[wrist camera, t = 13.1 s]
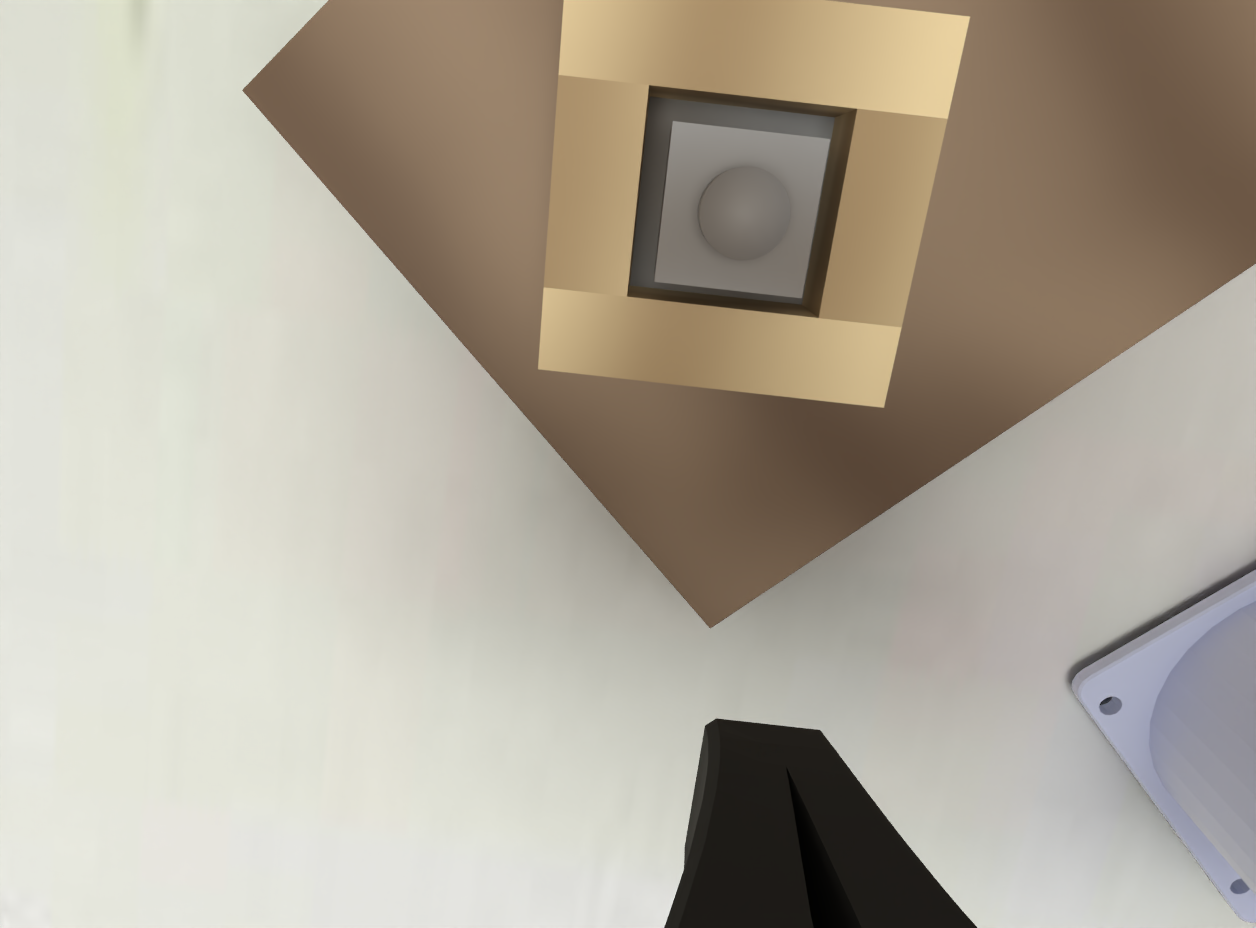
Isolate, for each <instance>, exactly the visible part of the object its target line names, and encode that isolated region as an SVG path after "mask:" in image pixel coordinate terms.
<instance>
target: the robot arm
mask: <svg viewBox="0 0 1256 928" xmlns="http://www.w3.org/2000/svg"><path fill="white" fill-rule="evenodd" d="M1072 690H1073V692H1074V694H1075V696H1076V697H1077V699H1078V700H1079V701H1080V703H1081V704H1082V705H1083V707H1084V708H1085V709H1086V711H1087V712H1088V714H1089V715H1090V716H1091V718H1092V719H1093V720H1094V722H1095V723H1096V724H1097V726H1098V727H1099V729H1100V730H1101V731H1102V733H1103V734H1104V735H1105V737H1106V738H1107V739H1108V741H1109V742H1110V744H1111V745H1112V746H1113V748H1114V749H1115V750H1116V752H1117V753H1118V754H1119V756H1120V757H1121V759H1122V760H1123V761H1124V763H1125V764H1126V765H1127V767H1128V768H1129V769H1130V771H1131V772H1132V774H1133V775H1134V776H1135V778H1136V779H1137V780H1138V782H1139V783H1140V784H1141V786H1142V787H1143V789H1144V790H1145V791H1146V793H1147V794H1148V795H1149V797H1150V798H1151V799H1152V801H1153V802H1154V804H1155V805H1156V806H1157V808H1158V809H1159V810H1160V812H1161V813H1162V814H1163V816H1164V817H1165V818H1166V820H1167V821H1168V823H1169V824H1170V825H1171V827H1172V828H1173V829H1174V831H1175V832H1176V833H1177V835H1178V836H1179V838H1180V839H1181V840H1182V842H1183V843H1184V844H1185V846H1186V847H1187V848H1188V850H1189V851H1190V853H1191V854H1192V855H1193V857H1194V858H1195V859H1196V861H1197V862H1198V863H1199V865H1200V866H1201V868H1202V869H1203V870H1204V872H1205V873H1206V874H1207V876H1208V877H1209V878H1210V880H1211V881H1212V883H1213V884H1214V885H1215V887H1216V888H1217V889H1218V891H1219V892H1220V893H1221V895H1222V896H1223V898H1224V899H1225V900H1226V902H1227V903H1228V904H1229V906H1230V907H1231V908H1232V910H1233V911H1234V912H1235V913H1236V915H1237V916H1238V917H1239V918H1240V919H1242V920H1243V921H1246V922H1251V923H1254V922H1256V570H1254V571H1252V572H1250V573H1249V574H1247V575H1245V576H1243V577H1242V578H1240V579H1238V580H1236V581H1235V582H1233V583H1231V584H1229V585H1228V586H1226V587H1224V588H1223V589H1221V590H1219V591H1217V592H1216V593H1214V594H1212V595H1210V596H1209V597H1207V598H1205V599H1203V600H1202V601H1200V602H1198V603H1197V604H1195V605H1193V606H1191V607H1190V608H1188V609H1186V610H1184V611H1183V612H1181V613H1179V614H1177V615H1176V616H1174V617H1172V618H1170V619H1169V620H1167V621H1165V622H1164V623H1162V624H1160V625H1158V626H1157V627H1155V628H1153V629H1151V630H1150V631H1148V632H1146V633H1144V634H1143V635H1141V636H1139V637H1138V638H1136V639H1134V640H1132V641H1131V642H1129V643H1127V644H1125V645H1124V646H1122V647H1120V648H1118V649H1117V650H1115V651H1113V652H1111V653H1110V654H1108V655H1106V656H1105V657H1103V658H1101V659H1099V660H1098V661H1096V662H1094V663H1092V664H1091V665H1089V666H1087V667H1085V668H1084V669H1082V670H1081V671H1080V672H1078V673H1077V674H1076V676H1075V677H1074V679H1073V681H1072ZM1108 697H1112V699H1111V700H1110V701H1109V702H1108V703H1106V704H1103V705H1100V703H1101V702H1102V701H1103V700H1104V699H1105V698H1108ZM664 928H977V927H976V926H975V925H974V923H973V922H972V921H971V920H970V919H969V918H968V917H967V916H966V915H965V913H964V912H963V911H962V910H961V909H960V908H959V906H958V905H957V904H956V903H955V902H954V901H953V899H952V898H951V897H950V896H949V895H948V893H947V892H946V891H945V890H944V889H943V888H942V886H941V885H940V884H939V883H938V881H937V880H936V879H935V878H934V877H933V875H932V874H931V873H930V872H929V870H928V869H927V868H926V867H925V866H924V864H923V863H922V862H921V861H920V859H919V858H918V857H917V856H916V854H915V853H914V852H913V851H912V850H911V848H910V847H909V846H908V845H907V843H906V842H905V841H904V840H903V838H902V837H901V836H900V834H899V833H898V832H897V831H896V829H895V828H894V827H893V826H892V824H891V823H890V822H889V820H888V819H887V818H886V816H885V815H884V814H883V813H882V811H881V810H880V809H879V807H878V806H877V805H876V803H875V802H874V801H873V799H872V798H871V797H870V796H869V794H868V793H867V792H866V790H865V789H864V788H863V786H862V785H861V784H860V782H859V781H858V780H857V778H856V777H855V776H854V774H853V773H852V772H851V770H850V769H849V768H848V766H847V765H846V764H845V762H844V761H843V760H842V758H841V757H840V756H839V754H838V753H837V752H836V750H835V749H834V748H833V746H832V745H831V744H830V742H829V741H828V740H827V739H826V737H825V736H824V735H823V733H822V732H821V731H820V730H814V729H805V728H796V727H787V726H778V725H769V724H760V723H751V722H742V721H733V720H724V719H715V720H713V721H712V722H710V723H709V724H707V725H706V726H705V730H704V736H703V742H702V748H701V754H700V760H699V765H698V771H697V777H696V783H695V789H694V795H693V801H692V807H691V813H690V819H689V825H688V831H687V837H686V843H685V861H684V871H683V874H682V877H681V880H680V883H679V886H678V889H677V892H676V895H675V898H674V901H673V904H672V907H671V910H670V913H669V916H668V919H667V922H666V924H665V927H664Z"/></svg>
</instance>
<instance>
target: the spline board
mask: <svg viewBox="0 0 1256 928" xmlns="http://www.w3.org/2000/svg"><path fill="white" fill-rule="evenodd" d="M828 1H837V2H846V3H854V4H863V5H872V6H881V7H890V8H899V9H907V10H916V11H925V12H934V13H943V14H951V15H960V16H969V17H970V20H969V24H968V29H967V33H966V38H965V43H964V47H963V52H962V56H961V61H960V65H959V70H958V74H957V79H956V83H955V88H954V92H953V97H952V101H951V106H950V111H949V115H948V120H947V124H946V129H945V133H944V138H943V142H942V147H941V151H940V156H939V160H938V165H937V169H936V174H935V179H934V183H933V188H932V192H931V197H930V201H929V206H928V210H927V215H926V219H925V224H924V228H923V233H922V237H921V242H920V247H919V251H918V256H917V260H916V265H915V269H914V274H913V278H912V283H911V287H910V292H909V296H908V301H907V305H906V310H905V315H904V319H903V324H902V328H901V333H900V337H899V342H898V346H897V351H896V355H895V360H894V364H893V369H892V373H891V378H890V383H889V387H888V392H887V396H886V401H885V405H884V408H881V407H872V406H863V405H854V404H845V403H836V402H827V401H819V400H810V399H801V398H792V397H783V396H774V395H765V394H756V393H747V392H738V391H729V390H720V389H711V388H702V387H693V386H684V385H675V384H666V383H657V382H648V381H639V380H630V379H621V378H612V377H604V376H595V375H586V374H577V373H568V372H559V371H550V370H541V369H538V362H539V347H540V333H541V319H542V304H543V290H544V276H545V261H546V247H547V233H548V218H549V204H550V189H551V175H552V161H553V146H554V132H555V118H556V103H557V89H558V75H559V60H560V46H561V32H562V17H563V3H564V0H329V1H328V2H327V3H326V4H325V5H324V6H323V7H322V8H321V9H320V10H319V11H318V12H317V13H316V14H315V15H314V16H313V17H312V18H311V19H310V20H309V21H308V22H307V23H306V24H305V26H304V27H303V28H302V29H301V30H300V31H299V32H298V33H297V34H296V35H295V36H294V37H293V38H292V39H291V40H290V41H289V42H288V43H287V44H286V45H285V46H284V47H283V48H282V49H281V50H280V52H279V53H278V54H277V55H276V56H275V57H274V58H273V59H272V60H271V61H270V62H269V63H268V64H267V65H266V66H265V67H264V68H263V69H262V70H261V71H260V72H259V73H258V74H257V75H256V77H255V78H254V79H253V80H252V81H251V82H250V83H249V84H248V85H247V86H246V87H245V88H244V89H243V92H244V93H245V94H246V95H247V96H248V97H249V99H250V100H251V101H252V102H253V103H254V104H255V105H256V107H257V108H258V109H259V110H260V111H261V112H262V113H263V115H264V116H265V117H266V118H267V119H268V120H269V122H270V123H271V124H272V125H273V126H274V127H275V128H276V130H277V131H278V132H279V133H280V134H281V135H282V136H283V138H284V139H285V140H286V141H287V142H288V143H289V145H290V146H291V147H292V148H293V149H294V150H295V151H296V153H297V154H298V155H299V156H300V157H301V158H302V159H303V161H304V162H305V163H306V164H307V165H308V166H309V168H310V169H311V170H312V171H313V172H314V173H315V174H316V176H317V177H318V178H319V179H320V180H321V181H322V182H323V184H324V185H325V186H326V187H327V188H328V189H329V191H330V192H331V193H332V194H333V195H334V196H335V197H336V199H337V200H338V201H339V202H340V203H341V204H342V205H343V207H344V208H345V209H346V210H347V211H348V212H349V214H350V215H351V216H352V217H353V218H354V219H355V220H356V222H357V223H358V224H359V225H360V226H361V227H362V228H363V230H364V231H365V232H366V233H367V234H368V235H369V237H370V238H371V239H372V240H373V241H374V242H375V243H376V245H377V246H378V247H379V248H380V249H381V250H382V251H383V253H384V254H385V255H386V256H387V257H388V258H389V260H390V261H391V262H392V263H393V264H394V265H395V266H396V268H397V269H398V270H399V271H400V272H401V273H402V274H403V276H404V277H405V278H406V279H407V280H408V281H409V283H410V284H411V285H412V286H413V287H414V288H415V289H416V291H417V292H418V293H419V294H420V295H421V296H422V297H423V299H424V300H425V301H426V302H427V303H428V304H429V306H430V307H431V308H432V309H433V310H434V311H435V312H436V314H437V315H438V316H439V317H440V318H441V319H442V320H443V322H444V323H445V324H446V325H447V326H448V327H449V329H450V330H451V331H452V332H453V333H454V334H455V335H456V337H457V338H458V339H459V340H460V341H461V342H462V343H463V345H464V346H465V347H466V348H467V349H468V350H469V352H470V353H471V354H472V355H473V356H474V357H475V358H476V360H477V361H478V362H479V363H480V364H481V365H482V366H483V368H484V369H485V370H486V371H487V372H488V373H489V375H490V376H491V377H492V378H493V379H494V380H495V381H496V383H497V384H498V385H499V386H500V387H501V388H502V389H503V391H504V392H505V393H506V394H507V395H508V396H509V398H510V399H511V400H512V401H513V402H514V403H515V404H516V406H517V407H518V408H519V409H520V410H521V411H522V412H523V414H524V415H525V416H526V417H527V418H528V419H529V421H530V422H531V423H532V424H533V425H534V426H535V427H536V429H537V430H538V431H539V432H540V433H541V434H542V435H543V437H544V438H545V439H546V440H547V441H548V442H549V444H550V445H551V446H552V447H553V448H554V449H555V450H556V452H557V453H558V454H559V455H560V456H561V457H562V458H563V460H564V461H565V462H566V463H567V464H568V465H569V467H570V468H571V469H572V470H573V471H574V472H575V473H576V475H577V476H578V477H579V478H580V479H581V480H582V481H583V483H584V484H585V485H586V486H587V487H588V488H589V490H590V491H591V492H592V493H593V494H594V495H595V496H596V498H597V499H598V500H599V501H600V502H601V503H602V504H603V506H604V507H605V508H606V509H607V510H608V511H609V513H610V514H611V515H612V516H613V517H614V518H615V519H616V521H617V522H618V523H619V524H620V525H621V526H622V527H623V529H624V530H625V531H626V532H627V533H628V534H629V536H630V537H631V538H632V539H633V540H634V541H635V542H636V544H637V545H638V546H639V547H640V548H641V549H642V550H643V552H644V553H645V554H646V555H647V556H648V557H649V559H650V560H651V561H652V562H653V563H654V564H655V565H656V567H657V568H658V569H659V570H660V571H661V572H662V573H663V575H664V576H665V577H666V578H667V579H668V580H669V582H670V583H671V584H672V585H673V586H674V587H675V588H676V590H677V591H678V592H679V593H680V594H681V595H682V596H683V598H684V599H685V600H686V601H687V602H688V603H689V605H690V606H691V607H692V608H693V609H694V610H695V611H696V613H697V614H698V615H699V616H700V617H701V618H702V619H703V621H704V622H705V623H706V624H707V625H708V626H709V628H712V627H713V626H715V625H716V624H718V623H719V622H721V621H722V620H724V619H725V618H727V617H728V616H730V615H731V614H733V613H734V612H736V611H737V610H739V609H740V608H741V607H743V606H744V605H746V604H747V603H749V602H750V601H752V600H753V599H755V598H756V597H758V596H759V595H761V594H762V593H764V592H765V591H767V590H768V589H770V588H771V587H773V586H774V585H776V584H777V583H779V582H780V581H782V580H783V579H785V578H786V577H788V576H789V575H791V574H792V573H794V572H795V571H797V570H798V569H800V568H801V567H803V566H804V565H806V564H807V563H809V562H810V561H812V560H813V559H815V558H816V557H818V556H819V555H821V554H822V553H824V552H825V551H827V550H828V549H830V548H831V547H833V546H834V545H836V544H837V543H839V542H840V541H842V540H843V539H845V538H846V537H848V536H849V535H851V534H852V533H854V532H855V531H857V530H858V529H860V528H861V527H863V526H864V525H866V524H867V523H869V522H870V521H872V520H873V519H875V518H876V517H878V516H879V515H881V514H882V513H884V512H885V511H887V510H888V509H890V508H891V507H893V506H894V505H895V504H897V503H898V502H900V501H901V500H903V499H904V498H906V497H907V496H909V495H910V494H912V493H913V492H915V491H916V490H918V489H919V488H921V487H922V486H924V485H925V484H927V483H928V482H930V481H931V480H933V479H934V478H936V477H937V476H939V475H940V474H942V473H943V472H945V471H946V470H948V469H949V468H951V467H952V466H954V465H955V464H957V463H958V462H960V461H961V460H963V459H964V458H966V457H967V456H969V455H970V454H972V453H973V452H975V451H976V450H978V449H979V448H981V447H982V446H984V445H985V444H987V443H988V442H990V441H991V440H993V439H994V438H996V437H997V436H999V435H1000V434H1002V433H1003V432H1005V431H1006V430H1008V429H1009V428H1011V427H1012V426H1014V425H1015V424H1017V423H1018V422H1020V421H1021V420H1023V419H1024V418H1026V417H1027V416H1029V415H1030V414H1032V413H1033V412H1035V411H1036V410H1038V409H1039V408H1041V407H1042V406H1044V405H1045V404H1047V403H1048V402H1049V401H1051V400H1052V399H1054V398H1055V397H1057V396H1058V395H1060V394H1061V393H1063V392H1064V391H1066V390H1067V389H1069V388H1070V387H1072V386H1073V385H1075V384H1076V383H1078V382H1079V381H1081V380H1082V379H1084V378H1085V377H1087V376H1088V375H1090V374H1091V373H1093V372H1094V371H1096V370H1097V369H1099V368H1100V367H1102V366H1103V365H1105V364H1106V363H1108V362H1109V361H1111V360H1112V359H1114V358H1115V357H1117V356H1118V355H1120V354H1121V353H1123V352H1124V351H1126V350H1127V349H1129V348H1130V347H1132V346H1133V345H1135V344H1136V343H1138V342H1139V341H1141V340H1142V339H1144V338H1145V337H1147V336H1148V335H1150V334H1151V333H1153V332H1154V331H1156V330H1157V329H1159V328H1160V327H1162V326H1163V325H1165V324H1166V323H1168V322H1169V321H1171V320H1172V319H1174V318H1175V317H1177V316H1178V315H1180V314H1181V313H1183V312H1184V311H1186V310H1187V309H1189V308H1190V307H1192V306H1193V305H1195V304H1196V303H1198V302H1199V301H1201V300H1202V299H1203V298H1205V297H1206V296H1208V295H1209V294H1211V293H1212V292H1214V291H1215V290H1217V289H1218V288H1220V287H1221V286H1223V285H1224V284H1226V283H1227V282H1229V281H1230V280H1232V279H1233V278H1235V277H1236V276H1238V275H1239V274H1241V273H1242V272H1244V271H1245V270H1247V269H1248V268H1250V267H1251V266H1253V265H1254V264H1256V0H828ZM834 121H835V117H827V116H818V115H809V114H800V113H791V112H783V111H774V110H765V109H756V108H747V107H738V106H729V105H721V104H712V103H703V102H694V101H685V100H676V99H667V98H659V97H650V99H649V108H648V118H647V127H646V137H645V146H644V156H643V165H642V175H641V184H640V194H639V203H638V213H637V222H636V232H635V241H634V251H633V260H632V270H631V279H630V286H639V287H648V288H657V289H666V290H675V291H684V292H693V293H701V294H710V295H719V296H728V297H737V298H746V299H755V300H764V301H773V302H782V303H791V304H800V305H802V301H803V296H804V290H805V284H806V279H807V273H808V267H809V262H810V256H811V250H812V245H813V239H814V234H815V228H816V222H817V217H818V211H819V205H820V200H821V194H822V188H823V183H824V177H825V171H826V166H827V160H828V154H829V149H830V143H831V138H832V132H833V126H834Z"/></svg>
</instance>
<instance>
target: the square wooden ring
mask: <svg viewBox="0 0 1256 928" xmlns="http://www.w3.org/2000/svg"><path fill="white" fill-rule="evenodd" d="M969 20H970V17H969V16H960V15H951V14H943V13H934V12H925V11H916V10H907V9H899V8H890V7H881V6H872V5H863V4H854V3H846V2H837V1H828V0H564V3H563V17H562V32H561V46H560V60H559V75H558V89H557V103H556V118H555V132H554V146H553V161H552V175H551V189H550V204H549V218H548V233H547V247H546V261H545V276H544V290H543V304H542V319H541V333H540V347H539V362H538V369H541V370H550V371H559V372H568V373H577V374H586V375H595V376H604V377H612V378H621V379H630V380H639V381H648V382H657V383H666V384H675V385H684V386H693V387H702V388H711V389H720V390H729V391H738V392H747V393H756V394H765V395H774V396H783V397H792V398H801V399H810V400H819V401H827V402H836V403H845V404H854V405H863V406H872V407H881V408H884V405H885V401H886V396H887V392H888V387H889V383H890V378H891V373H892V369H893V364H894V360H895V355H896V351H897V346H898V342H899V337H900V333H901V328H902V324H903V319H904V315H905V310H906V305H907V301H908V296H909V292H910V287H911V283H912V278H913V274H914V269H915V265H916V260H917V256H918V251H919V247H920V242H921V237H922V233H923V228H924V224H925V219H926V215H927V210H928V206H929V201H930V197H931V192H932V188H933V183H934V179H935V174H936V169H937V165H938V160H939V156H940V151H941V147H942V142H943V138H944V133H945V129H946V124H947V120H948V115H949V111H950V106H951V101H952V97H953V92H954V88H955V83H956V79H957V74H958V70H959V65H960V61H961V56H962V52H963V47H964V43H965V38H966V33H967V29H968V24H969ZM650 97H659V98H667V99H676V100H685V101H694V102H703V103H712V104H721V105H729V106H738V107H747V108H756V109H765V110H774V111H783V112H791V113H800V114H809V115H818V116H827V117H835V121H834V126H833V132H832V138H831V143H830V149H829V154H828V160H827V166H826V171H825V177H824V183H823V188H822V194H821V200H820V205H819V211H818V217H817V222H816V228H815V234H814V239H813V245H812V250H811V256H810V262H809V267H808V273H807V279H806V284H805V290H804V296H803V301H802V305H800V304H791V303H782V302H773V301H764V300H755V299H746V298H737V297H728V296H719V295H710V294H701V293H693V292H684V291H675V290H666V289H657V288H648V287H639V286H630V279H631V270H632V260H633V251H634V241H635V232H636V222H637V213H638V203H639V194H640V184H641V175H642V165H643V156H644V146H645V137H646V127H647V118H648V108H649V99H650Z"/></svg>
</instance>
